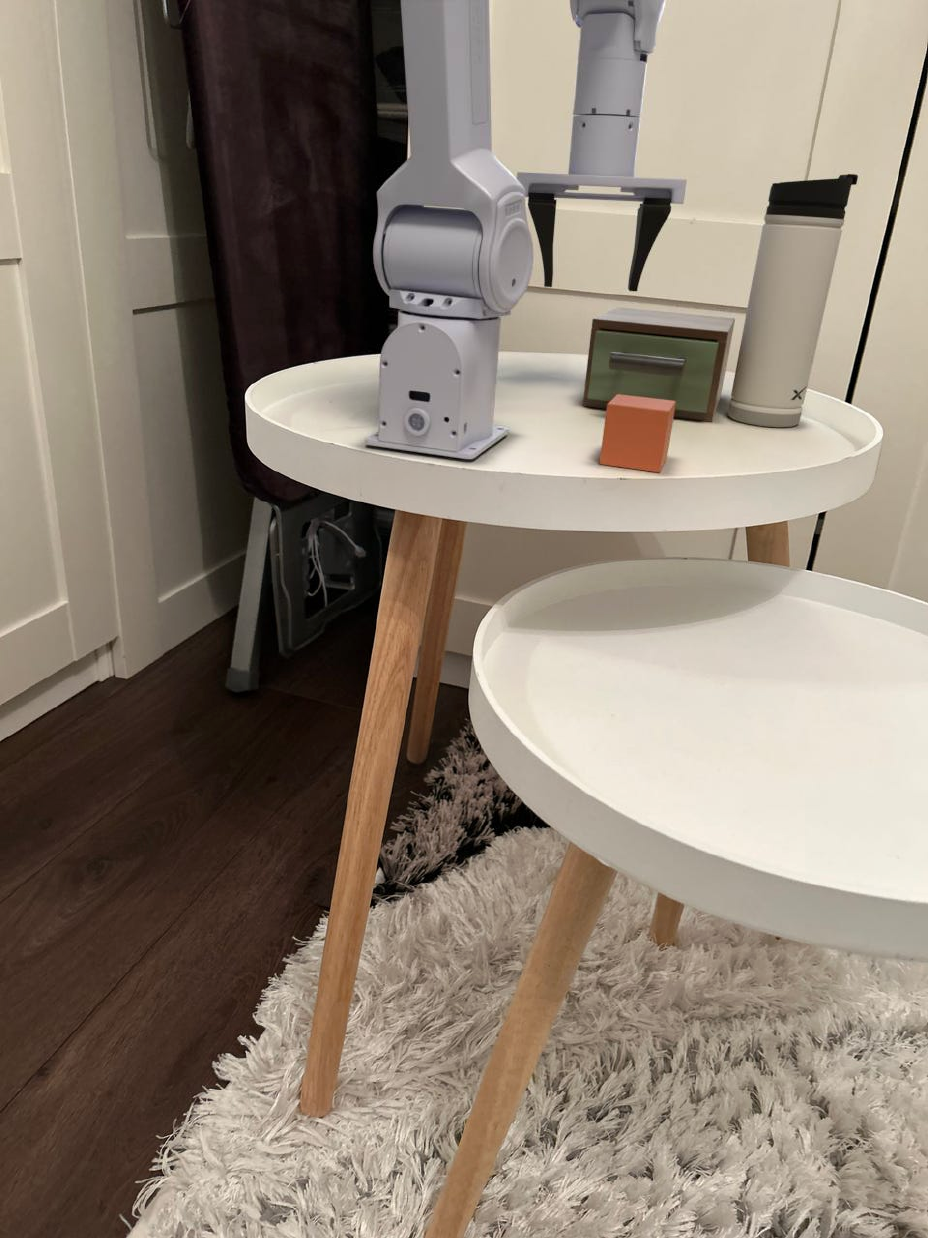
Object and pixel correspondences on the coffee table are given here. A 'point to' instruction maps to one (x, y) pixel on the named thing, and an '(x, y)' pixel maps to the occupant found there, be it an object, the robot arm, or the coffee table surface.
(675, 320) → the cabinet
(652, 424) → the block
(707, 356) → the drawer
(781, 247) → the travel mug
